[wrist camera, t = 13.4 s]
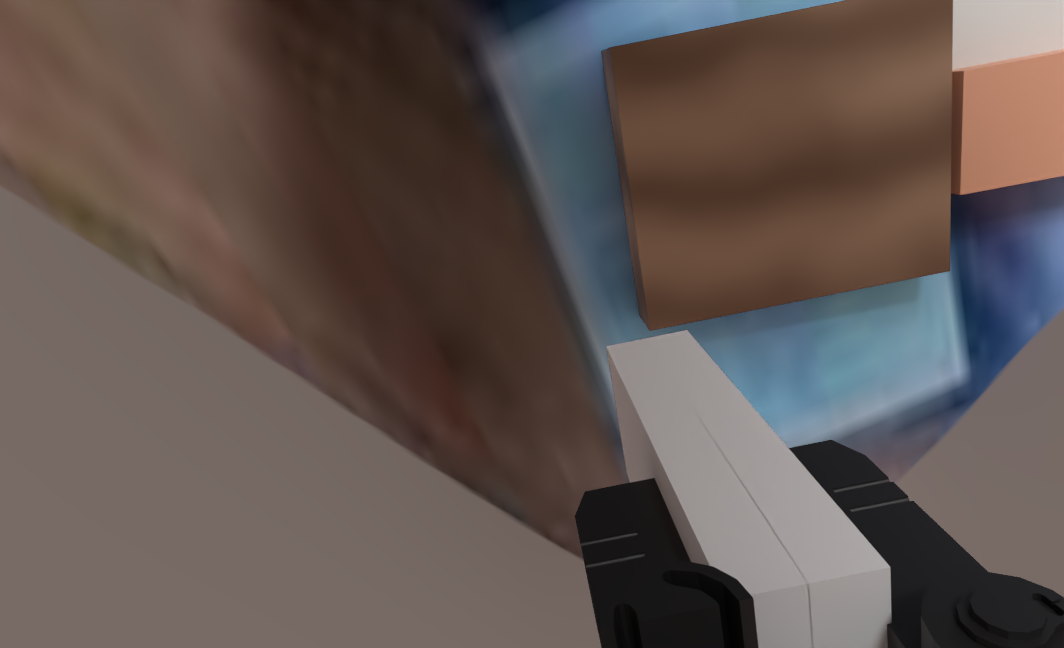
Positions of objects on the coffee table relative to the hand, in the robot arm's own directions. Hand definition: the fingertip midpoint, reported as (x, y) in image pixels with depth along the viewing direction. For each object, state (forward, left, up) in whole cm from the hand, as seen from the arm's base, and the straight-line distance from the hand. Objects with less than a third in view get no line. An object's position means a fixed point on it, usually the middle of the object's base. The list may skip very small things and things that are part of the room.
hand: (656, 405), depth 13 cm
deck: (0, +12, -24) cm, 27 cm away
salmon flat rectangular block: (0, +25, -24) cm, 35 cm away
